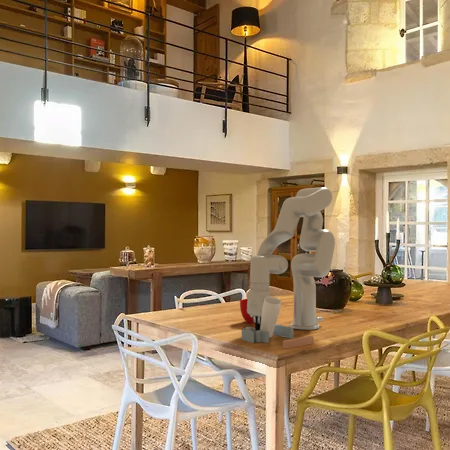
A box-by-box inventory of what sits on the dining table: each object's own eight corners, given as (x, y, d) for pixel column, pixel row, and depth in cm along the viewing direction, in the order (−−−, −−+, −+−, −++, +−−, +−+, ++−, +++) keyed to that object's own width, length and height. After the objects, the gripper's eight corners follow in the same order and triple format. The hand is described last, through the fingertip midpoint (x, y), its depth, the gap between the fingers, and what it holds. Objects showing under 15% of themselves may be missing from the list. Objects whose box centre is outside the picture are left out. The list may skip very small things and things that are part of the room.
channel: (272, 333, 209) (272, 323, 209) (313, 343, 191) (313, 332, 191) (237, 338, 198) (237, 328, 198) (277, 350, 180) (277, 338, 180)
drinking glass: (264, 328, 206) (270, 294, 201) (277, 336, 202) (284, 301, 197) (254, 333, 201) (260, 299, 196) (267, 341, 197) (274, 306, 192)
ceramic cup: (266, 318, 242) (266, 297, 242) (270, 325, 225) (270, 302, 225) (238, 318, 241) (238, 297, 241) (240, 325, 224) (240, 302, 224)
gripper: (240, 285, 208) (240, 331, 208) (264, 289, 196) (263, 337, 196) (255, 284, 213) (254, 329, 213) (279, 288, 201) (278, 335, 200)
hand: (259, 333), depth 204 cm, fingers closed
